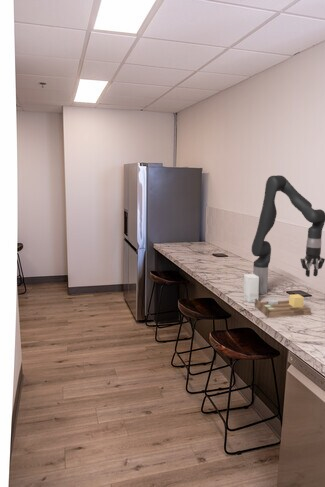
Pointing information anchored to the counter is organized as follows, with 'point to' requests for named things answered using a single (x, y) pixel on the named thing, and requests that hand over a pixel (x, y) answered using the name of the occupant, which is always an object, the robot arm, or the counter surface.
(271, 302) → the grey block
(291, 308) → the box
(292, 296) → the mustard block
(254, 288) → the skincare box
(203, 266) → the counter surface
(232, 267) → the counter surface
